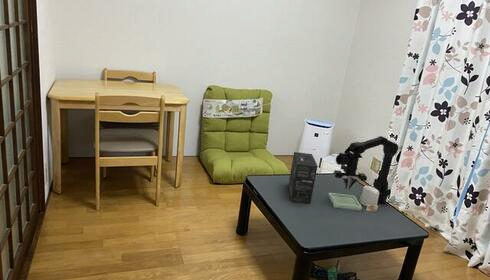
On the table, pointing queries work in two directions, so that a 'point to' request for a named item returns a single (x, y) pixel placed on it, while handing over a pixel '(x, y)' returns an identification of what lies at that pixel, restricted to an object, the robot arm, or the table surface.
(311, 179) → the headset box
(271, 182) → the table surface
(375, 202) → the photo printer
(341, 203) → the tray
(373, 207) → the holder
